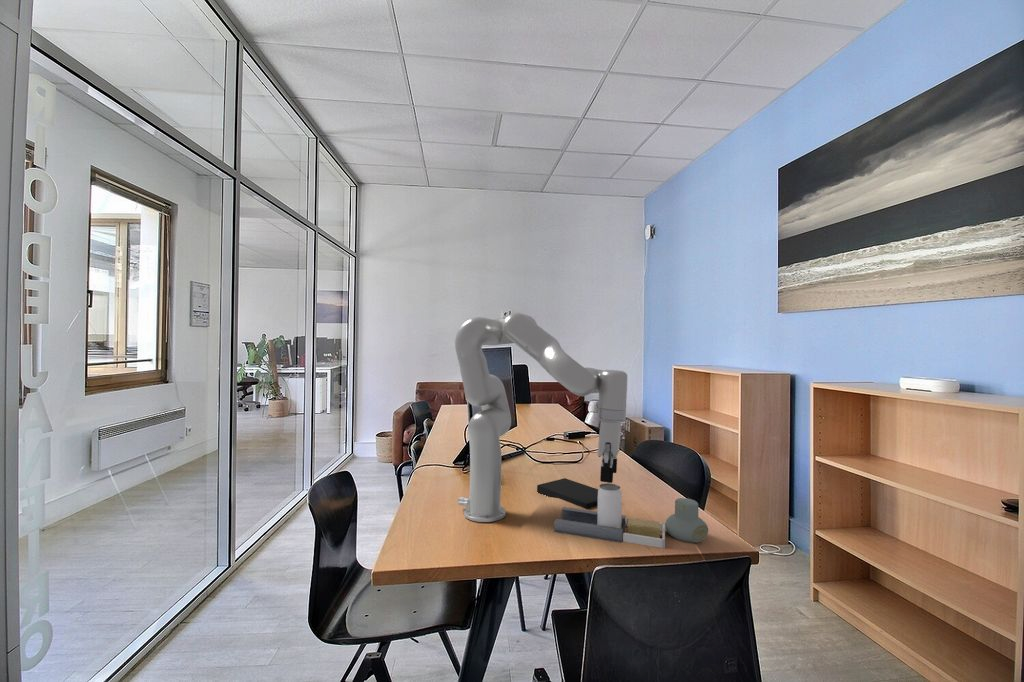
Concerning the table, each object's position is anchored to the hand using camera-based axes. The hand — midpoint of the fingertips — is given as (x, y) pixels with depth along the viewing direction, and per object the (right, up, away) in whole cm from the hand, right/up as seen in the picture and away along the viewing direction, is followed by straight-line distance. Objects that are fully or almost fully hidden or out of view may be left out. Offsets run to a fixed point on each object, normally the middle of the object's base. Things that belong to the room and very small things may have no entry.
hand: (608, 476), depth 118 cm
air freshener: (+20, -16, -2) cm, 26 cm away
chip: (+10, -15, -4) cm, 19 cm away
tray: (+9, -16, -4) cm, 18 cm away
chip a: (+7, -15, -3) cm, 17 cm away
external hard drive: (-5, -17, +29) cm, 33 cm away
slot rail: (-5, -16, +1) cm, 16 cm away
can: (0, -15, 0) cm, 15 cm away
